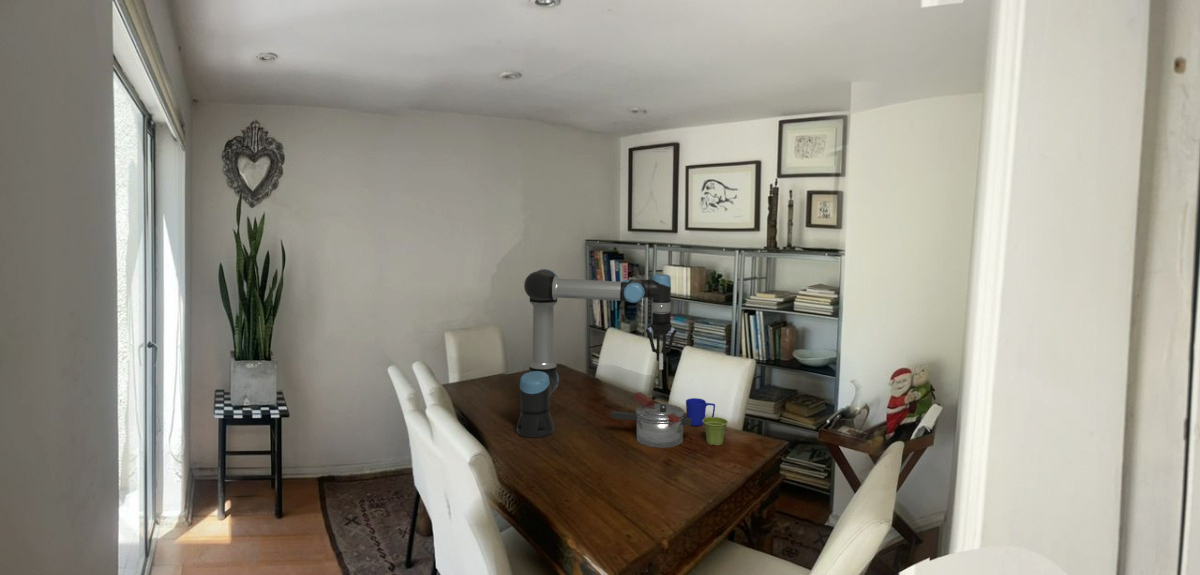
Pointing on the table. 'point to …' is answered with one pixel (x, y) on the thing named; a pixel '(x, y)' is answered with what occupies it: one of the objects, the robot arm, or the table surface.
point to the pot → (656, 430)
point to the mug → (697, 410)
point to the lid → (657, 410)
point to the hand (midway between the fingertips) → (661, 368)
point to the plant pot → (715, 430)
